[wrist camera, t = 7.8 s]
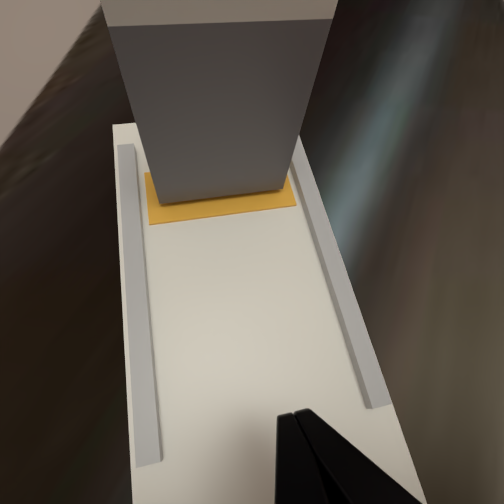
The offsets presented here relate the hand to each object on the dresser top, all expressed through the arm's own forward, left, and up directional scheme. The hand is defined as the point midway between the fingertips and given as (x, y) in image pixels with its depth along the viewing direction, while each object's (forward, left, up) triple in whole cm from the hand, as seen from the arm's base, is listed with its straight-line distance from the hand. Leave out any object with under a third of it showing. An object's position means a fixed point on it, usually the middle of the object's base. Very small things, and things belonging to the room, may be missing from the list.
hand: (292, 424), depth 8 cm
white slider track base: (+3, +1, -7) cm, 8 cm away
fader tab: (+11, +2, -4) cm, 12 cm away
